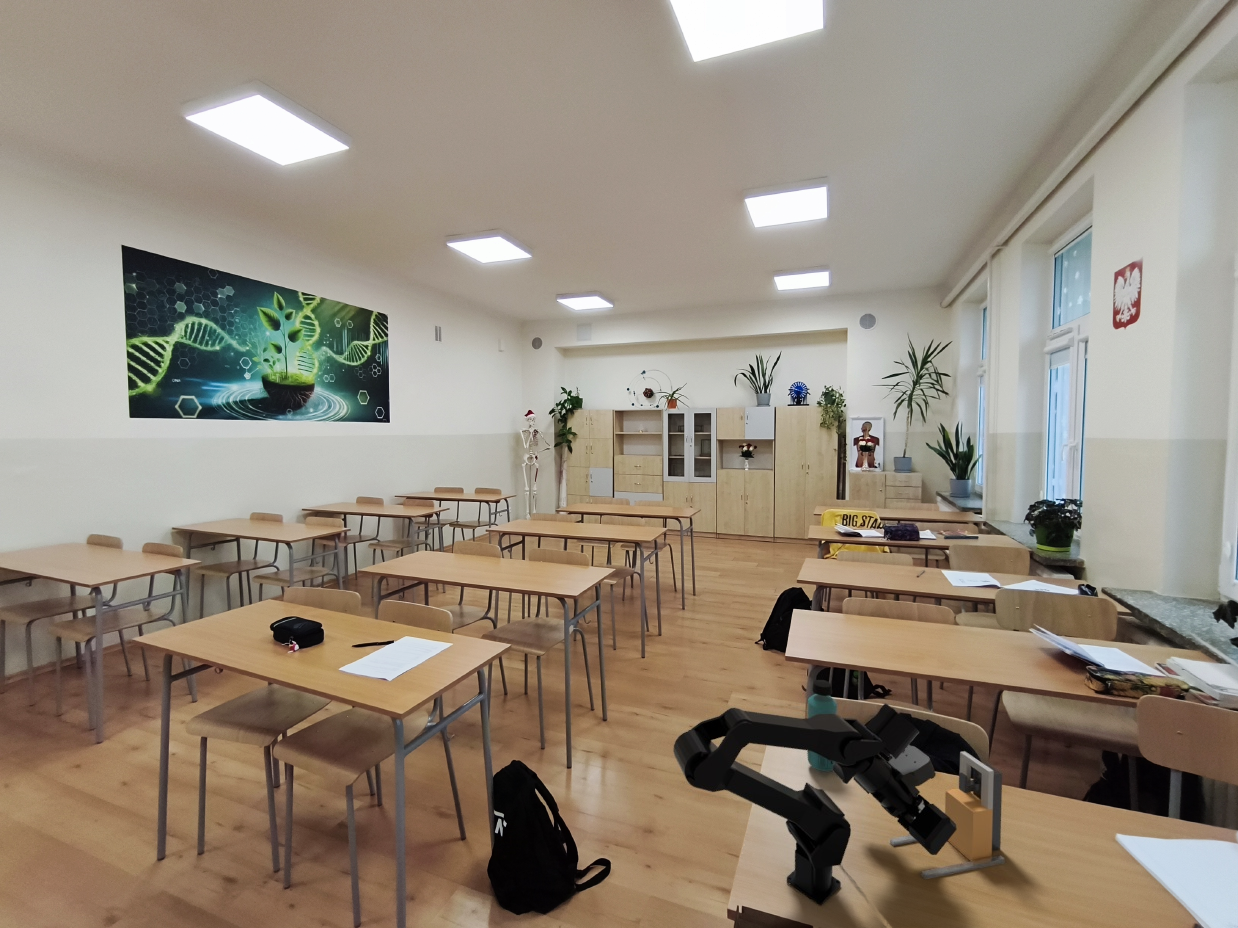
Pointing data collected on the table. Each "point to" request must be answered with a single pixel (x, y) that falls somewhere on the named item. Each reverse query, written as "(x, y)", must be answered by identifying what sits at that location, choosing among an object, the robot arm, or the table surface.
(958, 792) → the orange padlock
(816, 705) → the beverage bottle
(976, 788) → the grey stand with block
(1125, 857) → the table surface
